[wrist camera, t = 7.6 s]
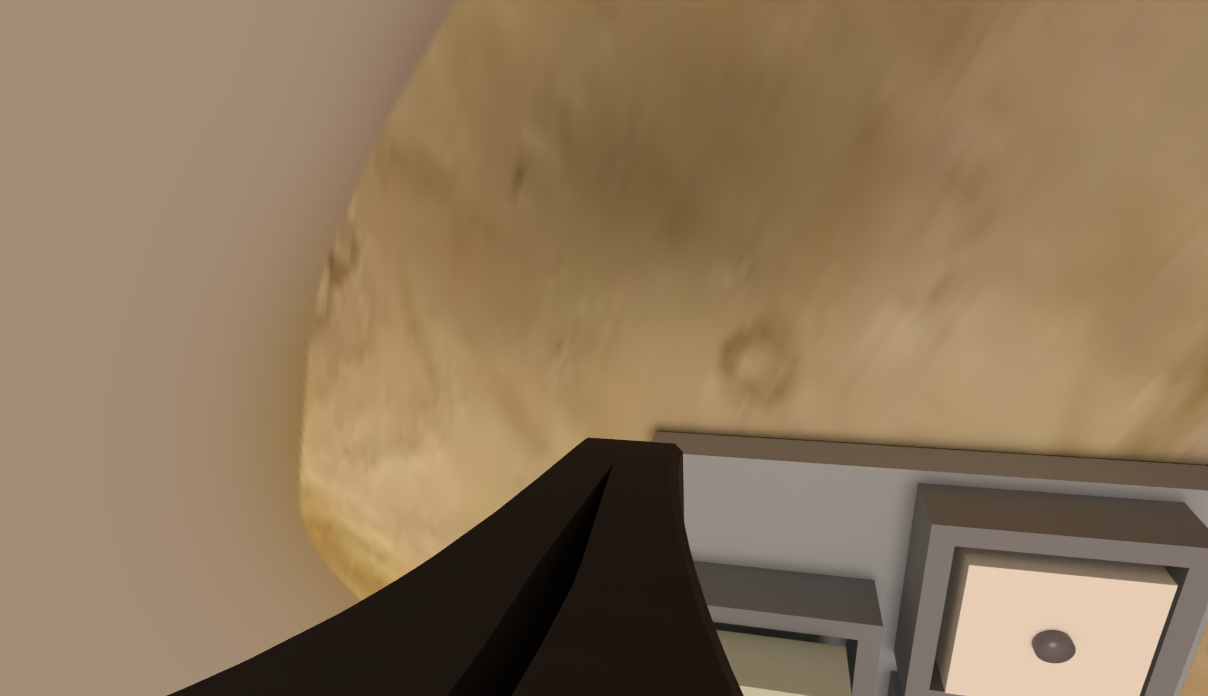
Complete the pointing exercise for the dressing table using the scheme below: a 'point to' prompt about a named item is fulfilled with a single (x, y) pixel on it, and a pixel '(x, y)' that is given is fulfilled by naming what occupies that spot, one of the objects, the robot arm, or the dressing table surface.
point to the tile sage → (786, 666)
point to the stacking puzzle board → (921, 541)
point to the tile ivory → (1049, 624)
